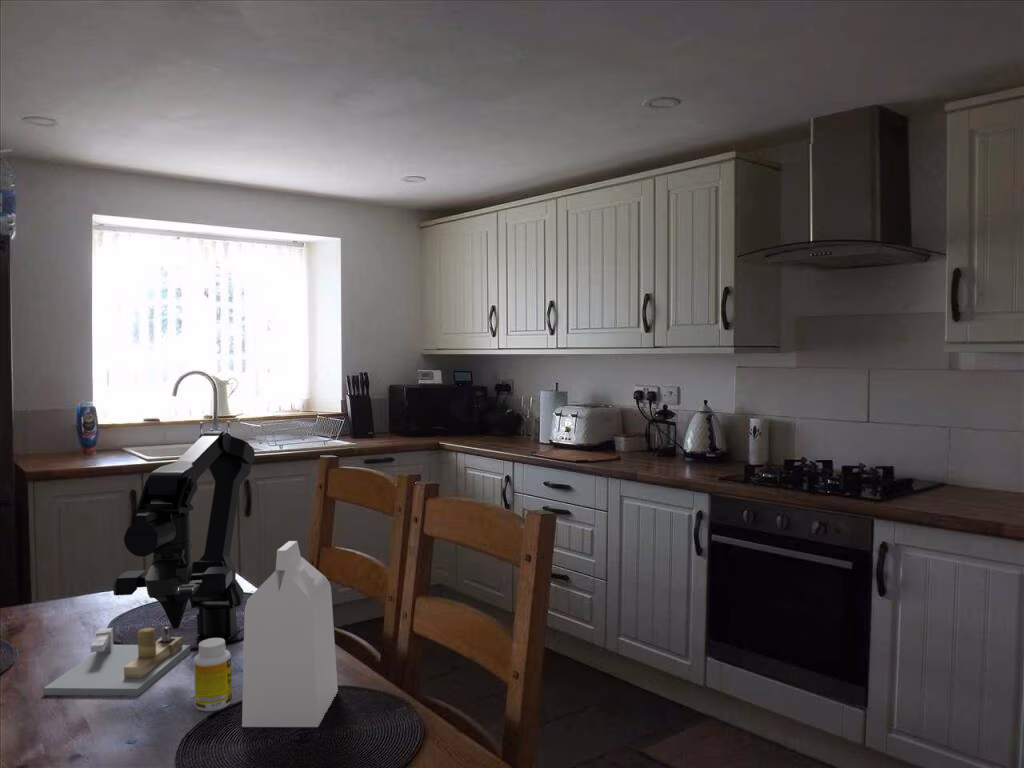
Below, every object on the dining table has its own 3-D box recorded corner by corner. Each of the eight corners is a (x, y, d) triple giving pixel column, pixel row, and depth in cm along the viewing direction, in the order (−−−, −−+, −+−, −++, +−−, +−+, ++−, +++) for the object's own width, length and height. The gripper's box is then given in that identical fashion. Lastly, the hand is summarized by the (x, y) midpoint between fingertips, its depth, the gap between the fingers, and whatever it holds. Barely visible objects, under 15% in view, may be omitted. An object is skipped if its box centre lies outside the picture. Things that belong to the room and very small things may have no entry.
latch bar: (161, 646, 149) (160, 613, 149) (182, 646, 149) (181, 613, 149) (121, 677, 135) (119, 641, 135) (144, 677, 135) (142, 641, 135)
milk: (268, 692, 132) (264, 536, 131) (337, 692, 132) (333, 536, 130) (241, 727, 120) (236, 556, 119) (317, 727, 120) (313, 555, 118)
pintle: (173, 649, 148) (172, 626, 148) (169, 652, 146) (168, 629, 146) (164, 649, 148) (163, 626, 148) (160, 652, 146) (159, 629, 146)
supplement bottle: (234, 708, 126) (232, 644, 126) (196, 716, 124) (194, 651, 123) (230, 694, 131) (228, 633, 131) (193, 701, 129) (191, 639, 128)
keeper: (113, 647, 149) (112, 627, 149) (105, 664, 141) (104, 643, 141) (99, 649, 149) (98, 629, 148) (90, 666, 141) (89, 644, 141)
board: (190, 651, 150) (190, 645, 150) (138, 695, 131) (137, 688, 131) (107, 650, 151) (107, 644, 151) (43, 695, 132) (43, 688, 132)
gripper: (98, 556, 131) (103, 648, 132) (216, 550, 134) (219, 642, 135) (123, 539, 142) (126, 625, 143) (231, 534, 145) (234, 619, 146)
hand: (176, 628), depth 141 cm, fingers closed
